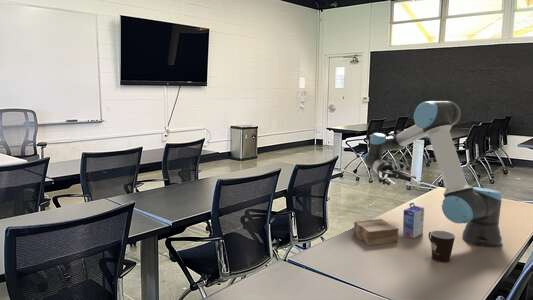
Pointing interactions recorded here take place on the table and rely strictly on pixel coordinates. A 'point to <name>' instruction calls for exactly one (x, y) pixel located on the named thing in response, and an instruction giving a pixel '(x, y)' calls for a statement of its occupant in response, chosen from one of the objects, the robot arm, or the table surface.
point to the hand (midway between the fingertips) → (407, 186)
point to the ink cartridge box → (413, 221)
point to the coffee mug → (441, 245)
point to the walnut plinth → (375, 232)
